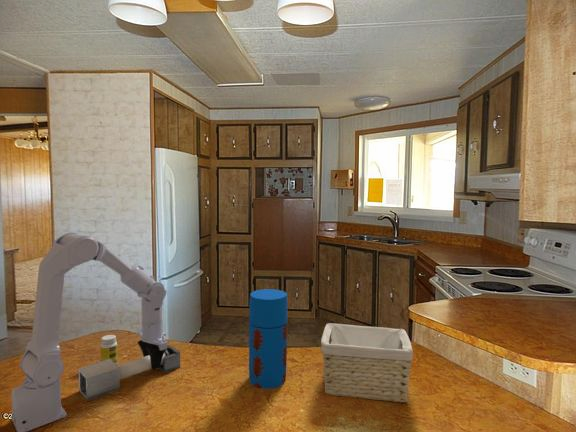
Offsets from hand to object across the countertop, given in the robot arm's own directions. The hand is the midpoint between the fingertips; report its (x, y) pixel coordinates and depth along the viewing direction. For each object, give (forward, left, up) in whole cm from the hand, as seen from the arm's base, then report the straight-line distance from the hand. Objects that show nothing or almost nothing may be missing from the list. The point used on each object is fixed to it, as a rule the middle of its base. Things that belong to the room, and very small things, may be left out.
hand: (152, 365), depth 109 cm
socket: (+5, 0, -2) cm, 5 cm away
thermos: (+22, -27, -2) cm, 35 cm away
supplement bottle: (-7, +14, -2) cm, 16 cm away
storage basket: (+39, -48, -2) cm, 62 cm away
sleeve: (-15, 0, -2) cm, 15 cm away
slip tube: (-4, 0, -1) cm, 4 cm away
